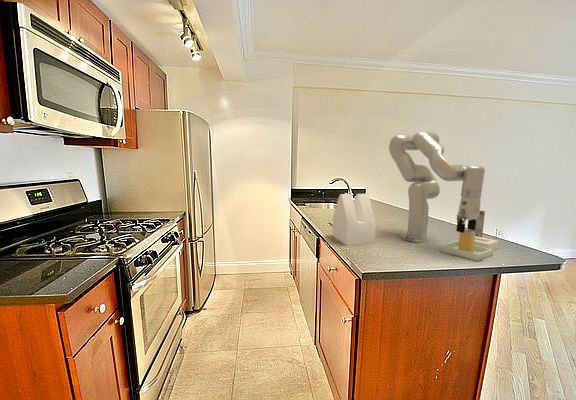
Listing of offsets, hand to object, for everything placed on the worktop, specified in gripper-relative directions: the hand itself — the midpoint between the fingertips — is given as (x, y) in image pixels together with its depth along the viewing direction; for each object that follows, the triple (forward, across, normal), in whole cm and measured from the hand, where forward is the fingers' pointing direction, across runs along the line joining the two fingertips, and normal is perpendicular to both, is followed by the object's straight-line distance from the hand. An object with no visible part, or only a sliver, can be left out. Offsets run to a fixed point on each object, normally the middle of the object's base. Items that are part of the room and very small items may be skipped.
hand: (465, 230), depth 125 cm
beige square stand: (+11, +16, 0) cm, 19 cm away
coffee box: (+11, +27, +7) cm, 30 cm away
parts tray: (+11, 0, -2) cm, 11 cm away
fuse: (+10, 0, -1) cm, 10 cm away
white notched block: (+13, -28, +42) cm, 53 cm away
